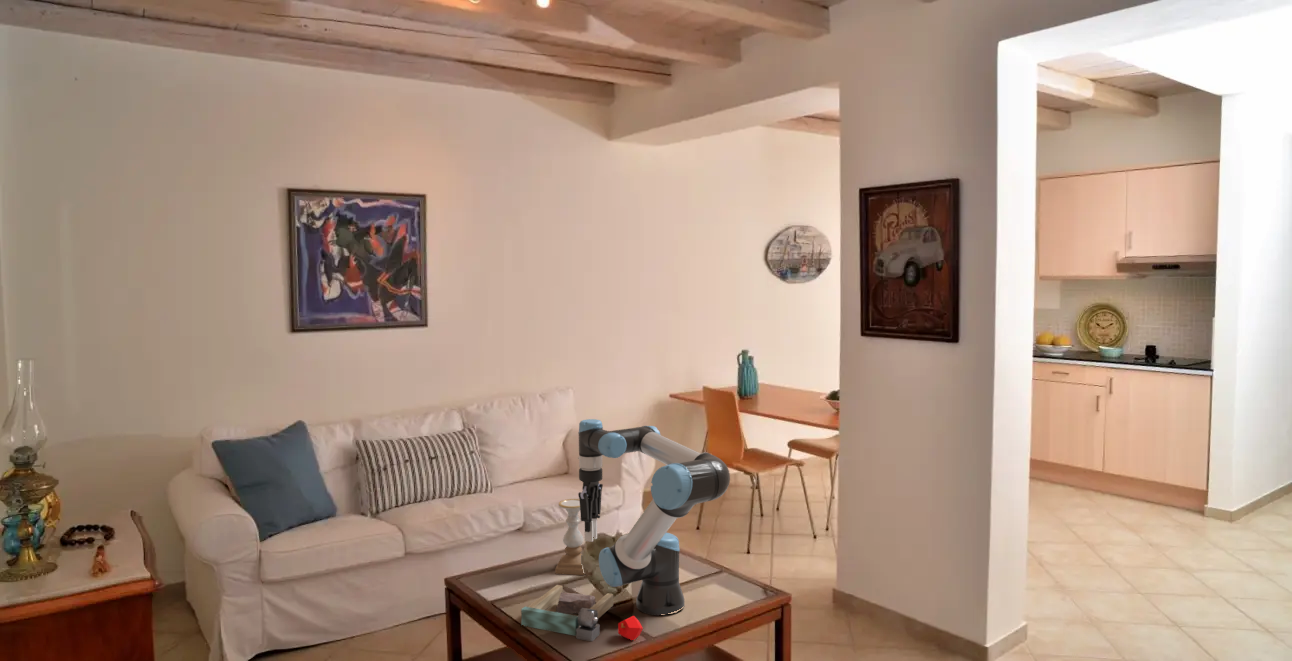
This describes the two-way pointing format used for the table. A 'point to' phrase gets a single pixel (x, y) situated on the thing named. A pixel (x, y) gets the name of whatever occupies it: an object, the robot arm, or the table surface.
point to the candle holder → (571, 540)
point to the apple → (630, 628)
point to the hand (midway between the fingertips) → (590, 539)
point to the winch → (587, 625)
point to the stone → (574, 603)
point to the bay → (557, 621)
